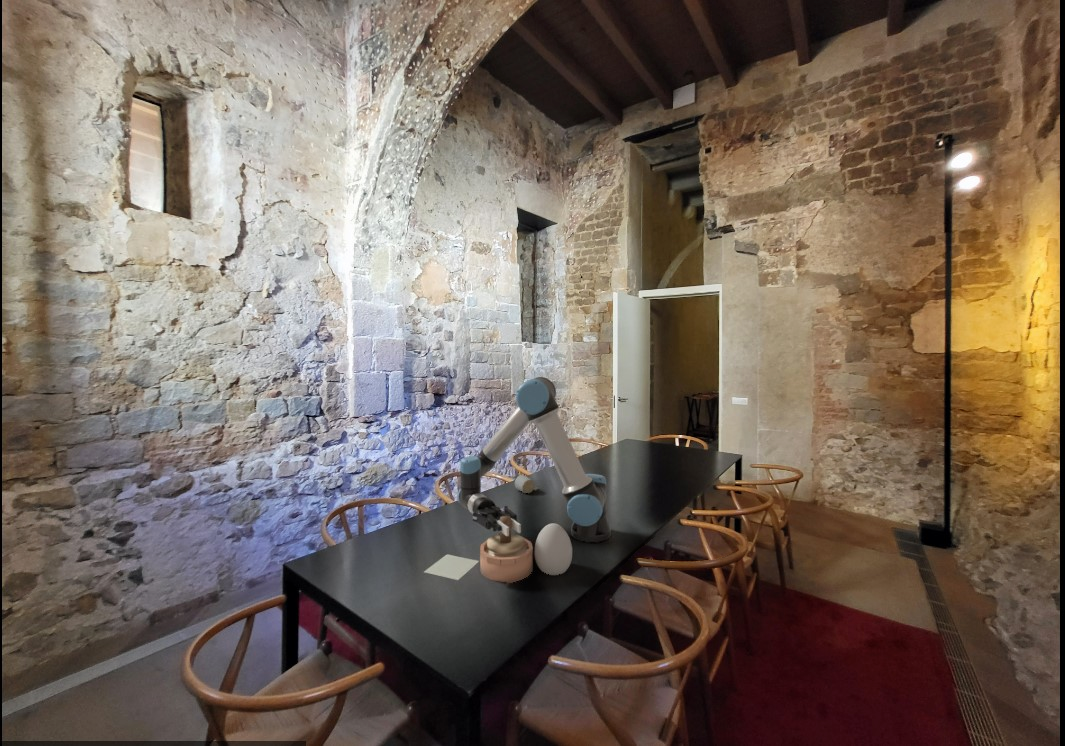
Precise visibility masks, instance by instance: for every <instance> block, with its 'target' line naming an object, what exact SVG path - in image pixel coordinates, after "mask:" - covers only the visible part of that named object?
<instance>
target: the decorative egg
mask: <svg viewBox="0 0 1065 746" xmlns="http://www.w3.org/2000/svg"><path fill="white" fill-rule="evenodd" d="M533 553H534V560H535V563H536V566H537V567H538V568H539V570H541V573H543V572H544V574H545V573H546V574H545V575H548V574H549V576H559V574H560V575H562V574H564V573H565V572H566V571H567V570H568V569H569V567H570V566H571V563H572V559H573V546H572V542H571V538H570V536H569V534H568V533H567V531H566V530H565V529H564V527H563V526H561V525H560V524H558V523H554V522H553V523H548V524H547V525H545V526H544V527H543V528H542V529H541V530H540V532H539V533H538V535H537V538H536V539H535V544H534V549H533Z"/></svg>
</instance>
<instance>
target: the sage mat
mask: <svg viewBox="0 0 1065 746" xmlns="http://www.w3.org/2000/svg"><path fill="white" fill-rule="evenodd" d="M479 562H480V560H477V559H471V558H466V557H461V556H456V555H452V554H446V555H444V556H443V557H441V558H440V559H439V560H437V561H436V562H435V563H433V564H432V565H431V566H429V567H428V568H426V569H425V570H424V571H423V573H425V574H430V575H434V576H439V577H443V578H448V579H451V580H455V581H459V580H461V578H463V576H465V575H466V574H467V573H468V572H469V571H470V570H472V568H474V567H475V566H476V565H477V564H478V563H479Z"/></svg>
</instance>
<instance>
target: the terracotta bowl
mask: <svg viewBox="0 0 1065 746" xmlns="http://www.w3.org/2000/svg"><path fill="white" fill-rule="evenodd" d="M523 538H524V547H523V548H522V549H521V550H520V551H517V552H515V553H510V554H499V553H495V552H492V551H490V550H489V549H488V548H487V540H488V539H486V540H485V541H483V543H482V542H481V544H480V546H479V547H480V549H479V550H480V552H479V562H480V569H479V570H480V573H481V575H482V576H483V577H485V578H487V579H488V580H491V581H495V582H498V583H499V582H502V583H505V582H506V584H514V583H513V582H515V583H517V582H516V581H519V580H522V579H524V578H526V577H527V578H529V577H530V576H531V575H530V574H532V573H533V571H534V569H533V568H534V565H533V563H534V561H533V559H534V558H533V553H534V547H533V544H532V542H531V540H528V539H527V538H525V537H523ZM531 572H532V573H531ZM529 575H530V576H529ZM528 576H529V577H528ZM527 578H526V579H527ZM524 580H525V579H524ZM522 581H523V580H522ZM519 582H520V581H519Z"/></svg>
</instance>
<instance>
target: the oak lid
mask: <svg viewBox="0 0 1065 746" xmlns="http://www.w3.org/2000/svg"><path fill="white" fill-rule="evenodd" d="M499 521H501V522H502V523H503V524H505V525H506V526H508V527H509V536H506V535H504V534H503V533H502V532H500V531H499V533H497V534H493V535H492V536H490V537H488V538H487V539H486V540H487V548H488V549H489V550H490V551H492V552H495V553H499V554H510V553H515V552H517V551H520V550H521V549H522V548H523V547H524V538H525V537H523V536H521V535H520V534H518V533H512V528H511V517H510V516H502V517H500V520H499Z"/></svg>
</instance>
